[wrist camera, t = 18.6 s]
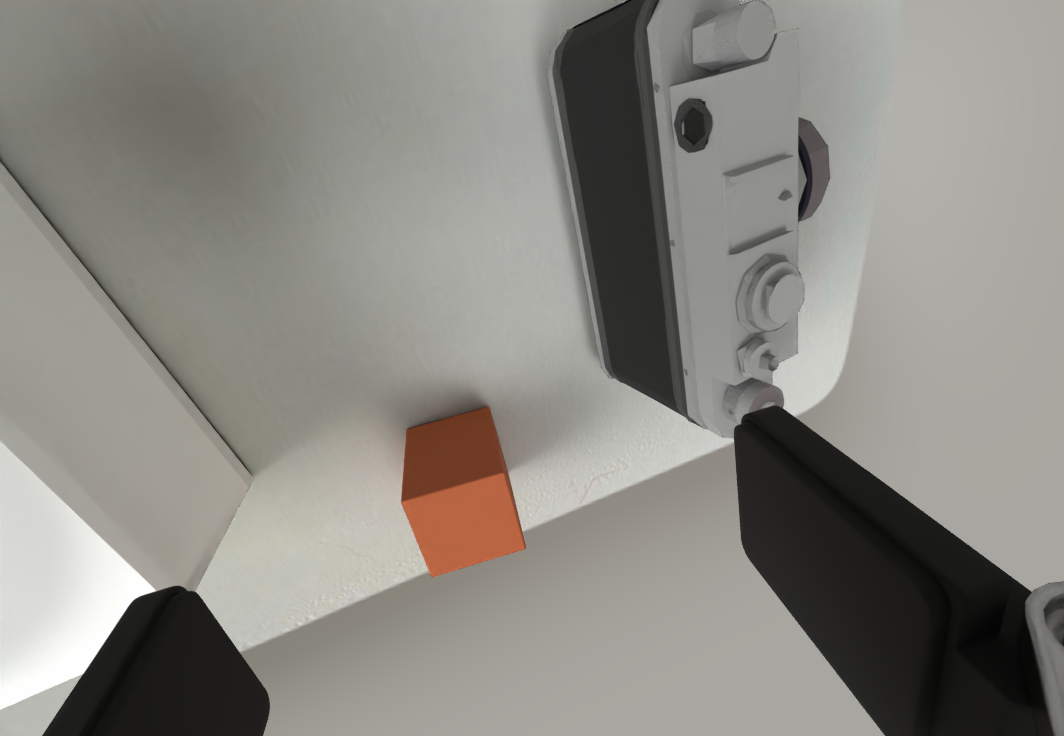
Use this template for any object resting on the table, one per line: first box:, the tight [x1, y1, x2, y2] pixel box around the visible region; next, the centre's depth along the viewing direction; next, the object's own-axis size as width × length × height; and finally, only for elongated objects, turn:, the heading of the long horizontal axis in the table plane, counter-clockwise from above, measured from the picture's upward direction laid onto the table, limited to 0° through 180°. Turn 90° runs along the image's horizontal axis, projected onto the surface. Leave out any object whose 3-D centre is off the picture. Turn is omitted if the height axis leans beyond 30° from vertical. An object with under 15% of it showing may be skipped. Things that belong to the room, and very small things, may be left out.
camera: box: [547, 0, 830, 438], centre depth 20 cm, size 16×9×10 cm, turn 13°
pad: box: [401, 407, 526, 577], centre depth 25 cm, size 4×4×6 cm
